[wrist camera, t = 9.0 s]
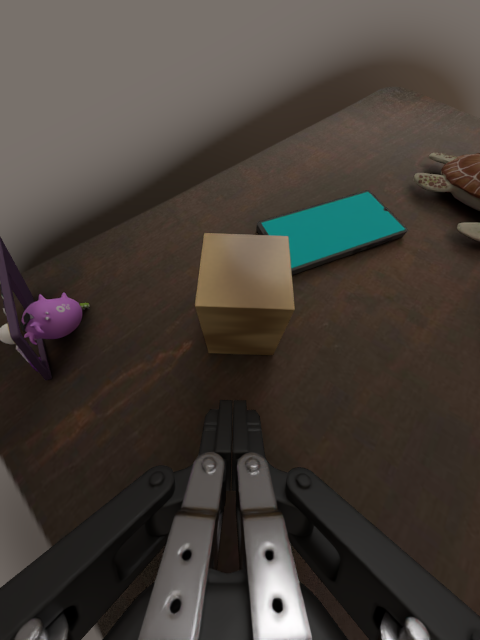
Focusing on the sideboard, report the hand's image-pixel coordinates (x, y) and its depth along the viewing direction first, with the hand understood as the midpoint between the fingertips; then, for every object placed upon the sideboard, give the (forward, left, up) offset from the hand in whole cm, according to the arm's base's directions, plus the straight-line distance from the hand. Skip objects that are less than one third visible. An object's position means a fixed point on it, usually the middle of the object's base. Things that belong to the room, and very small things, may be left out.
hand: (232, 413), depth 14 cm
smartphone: (+20, +8, -5) cm, 22 cm away
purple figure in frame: (-7, +15, -5) cm, 17 cm away
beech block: (+5, +6, -5) cm, 9 cm away
